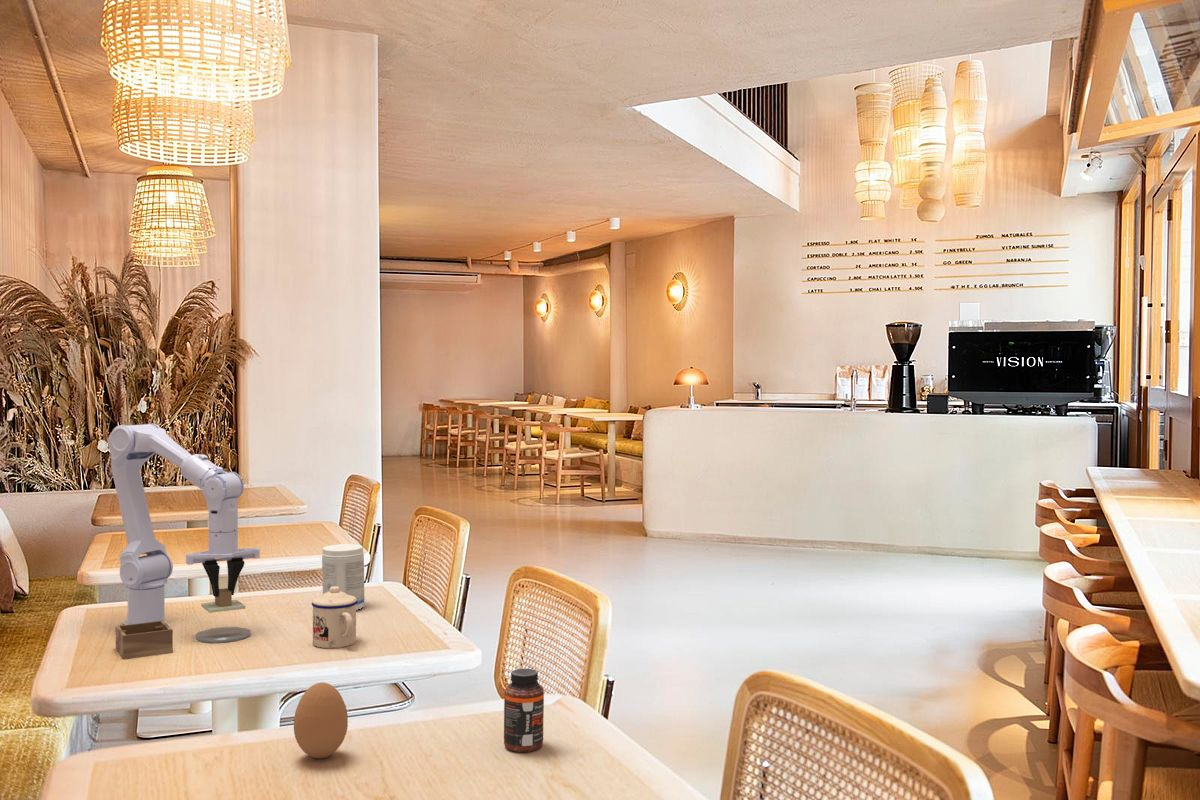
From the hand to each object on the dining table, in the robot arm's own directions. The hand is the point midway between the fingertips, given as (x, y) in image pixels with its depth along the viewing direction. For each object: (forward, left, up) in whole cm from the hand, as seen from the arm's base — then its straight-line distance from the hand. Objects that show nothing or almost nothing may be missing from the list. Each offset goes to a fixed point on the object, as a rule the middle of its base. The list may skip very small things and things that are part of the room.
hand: (223, 595), depth 216 cm
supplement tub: (-11, +30, -9) cm, 33 cm away
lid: (0, 0, -3) cm, 3 cm away
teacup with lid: (+19, +18, -9) cm, 28 cm away
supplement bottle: (+89, +22, -9) cm, 92 cm away
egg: (+77, -5, -9) cm, 78 cm away
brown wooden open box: (+3, -16, -9) cm, 18 cm away
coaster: (0, 0, -9) cm, 9 cm away
